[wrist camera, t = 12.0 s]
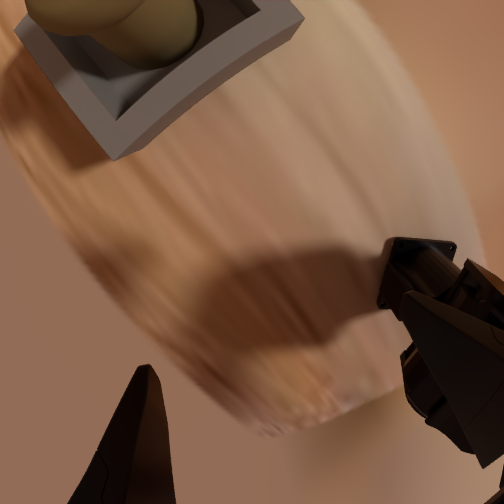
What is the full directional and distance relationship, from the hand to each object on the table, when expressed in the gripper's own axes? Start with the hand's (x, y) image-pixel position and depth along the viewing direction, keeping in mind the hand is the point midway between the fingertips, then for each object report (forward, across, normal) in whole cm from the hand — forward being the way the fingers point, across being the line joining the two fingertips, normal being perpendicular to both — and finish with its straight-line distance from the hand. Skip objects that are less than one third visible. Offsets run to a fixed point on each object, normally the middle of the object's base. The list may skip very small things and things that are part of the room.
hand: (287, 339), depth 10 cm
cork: (+14, +2, -12) cm, 19 cm away
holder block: (+15, +2, -12) cm, 19 cm away
